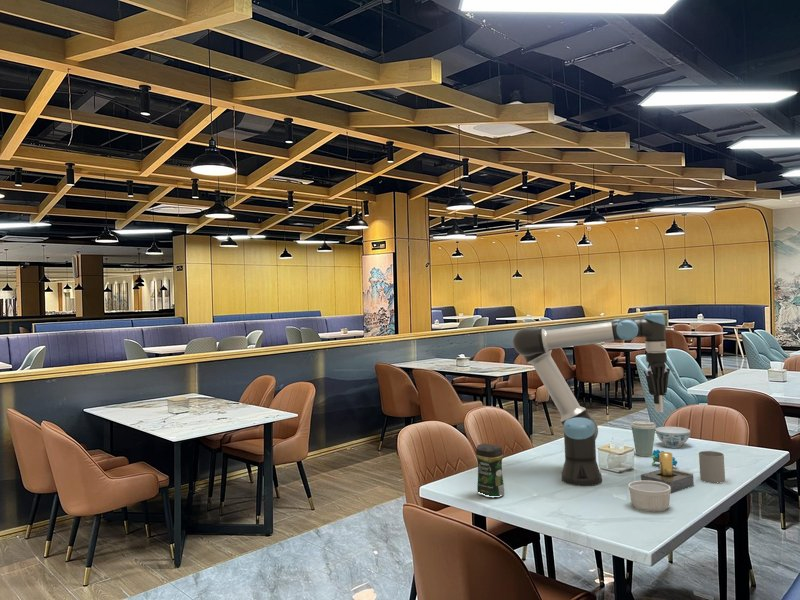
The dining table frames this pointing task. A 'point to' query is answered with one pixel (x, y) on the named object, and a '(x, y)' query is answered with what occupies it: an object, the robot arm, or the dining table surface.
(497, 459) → the coffee jar
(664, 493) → the ramekin
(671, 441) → the chinaware
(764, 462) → the dining table surface
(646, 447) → the disposable coffee cup
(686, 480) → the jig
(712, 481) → the cup
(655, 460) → the gear
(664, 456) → the brass cylinder peg
